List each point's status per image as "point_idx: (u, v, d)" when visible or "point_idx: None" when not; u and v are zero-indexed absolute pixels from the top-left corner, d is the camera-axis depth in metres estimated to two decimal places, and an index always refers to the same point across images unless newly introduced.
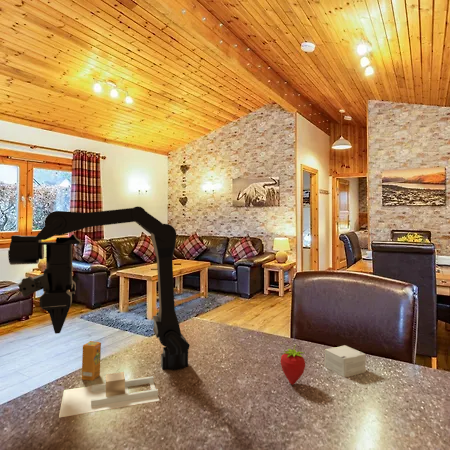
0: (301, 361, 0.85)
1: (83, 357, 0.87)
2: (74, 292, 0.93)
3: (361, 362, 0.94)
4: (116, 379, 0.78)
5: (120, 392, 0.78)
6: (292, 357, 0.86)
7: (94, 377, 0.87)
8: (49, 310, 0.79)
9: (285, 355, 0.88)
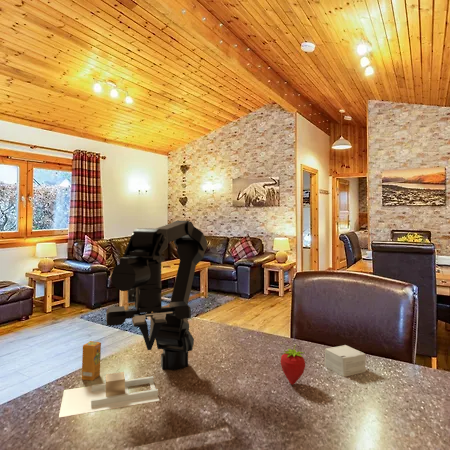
0: (301, 361, 0.85)
1: (83, 357, 0.87)
2: (161, 322, 0.80)
3: (361, 361, 0.95)
4: (116, 379, 0.78)
5: (120, 392, 0.78)
6: (292, 357, 0.86)
7: (94, 377, 0.87)
8: None
9: (285, 355, 0.88)
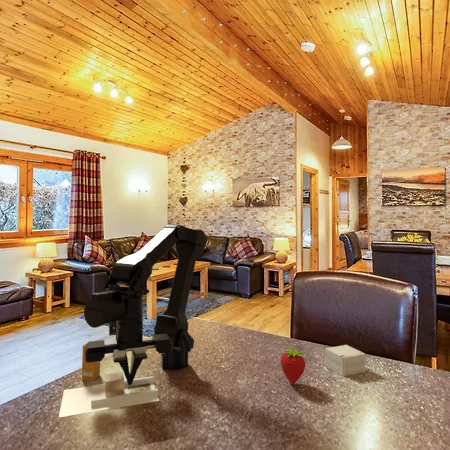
0: (301, 361, 0.85)
1: (83, 357, 0.87)
2: (142, 357, 0.79)
3: (361, 361, 0.95)
4: (115, 379, 0.78)
5: (119, 392, 0.78)
6: (292, 357, 0.86)
7: (94, 377, 0.87)
8: None
9: (285, 355, 0.88)
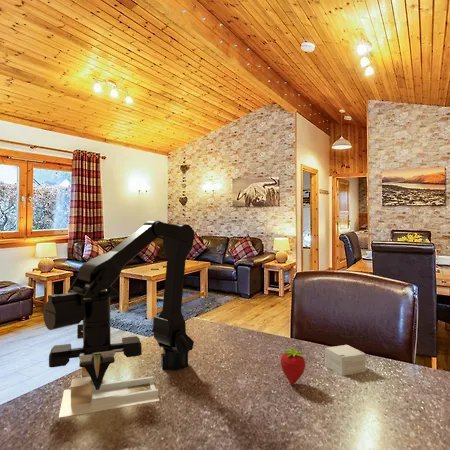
0: (301, 361, 0.85)
1: None
2: (108, 361, 0.76)
3: (361, 361, 0.95)
4: (81, 384, 0.76)
5: (86, 397, 0.76)
6: (292, 357, 0.86)
7: None
8: None
9: (285, 355, 0.88)
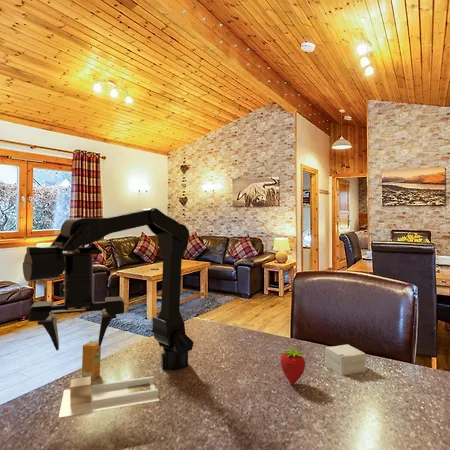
0: (301, 361, 0.85)
1: (83, 357, 0.87)
2: (110, 316, 0.76)
3: (361, 361, 0.95)
4: (81, 384, 0.76)
5: (85, 397, 0.76)
6: (292, 357, 0.86)
7: (94, 377, 0.87)
8: None
9: (285, 355, 0.88)
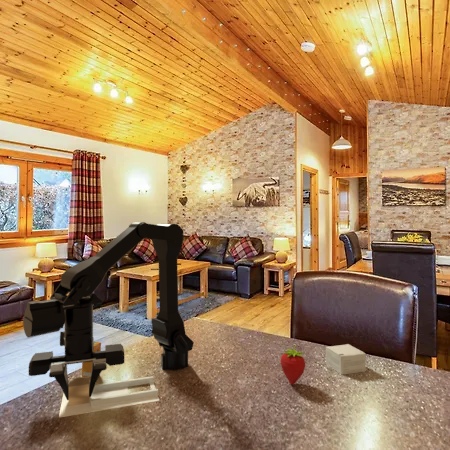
0: (301, 361, 0.85)
1: None
2: (100, 368, 0.76)
3: (361, 361, 0.95)
4: (79, 384, 0.76)
5: (84, 397, 0.76)
6: (292, 357, 0.86)
7: None
8: None
9: (285, 355, 0.88)
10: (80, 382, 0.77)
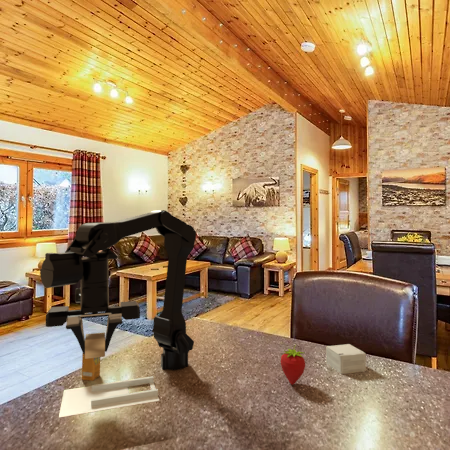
0: (301, 361, 0.85)
1: (83, 357, 0.87)
2: (116, 322, 0.76)
3: (361, 360, 0.95)
4: (95, 338, 0.76)
5: (100, 351, 0.76)
6: (292, 357, 0.86)
7: (94, 377, 0.87)
8: None
9: (285, 355, 0.88)
10: (96, 336, 0.77)
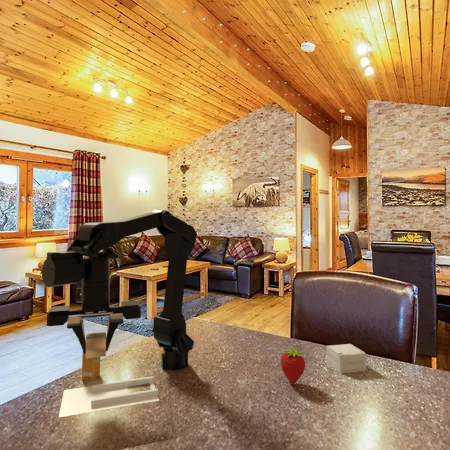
0: (301, 361, 0.85)
1: (83, 357, 0.87)
2: (117, 321, 0.76)
3: (360, 360, 0.95)
4: (96, 337, 0.76)
5: (101, 350, 0.76)
6: (292, 357, 0.86)
7: (94, 377, 0.87)
8: None
9: (285, 355, 0.88)
10: (97, 336, 0.77)
